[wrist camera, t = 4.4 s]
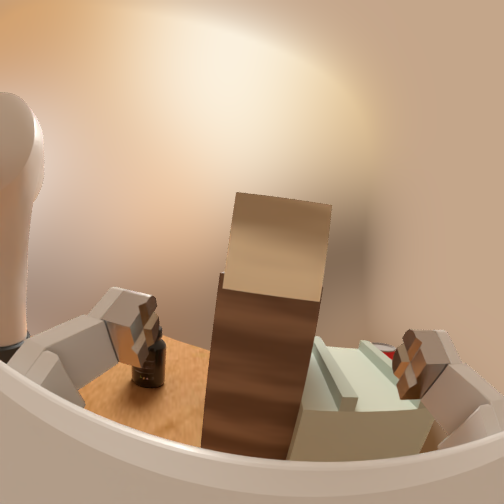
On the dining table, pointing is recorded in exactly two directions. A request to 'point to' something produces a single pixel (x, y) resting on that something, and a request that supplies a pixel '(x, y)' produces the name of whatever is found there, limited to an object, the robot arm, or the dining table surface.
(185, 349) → the dining table surface
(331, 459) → the sage step
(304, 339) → the walnut pedestal
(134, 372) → the supplement bottle
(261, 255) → the tan block
